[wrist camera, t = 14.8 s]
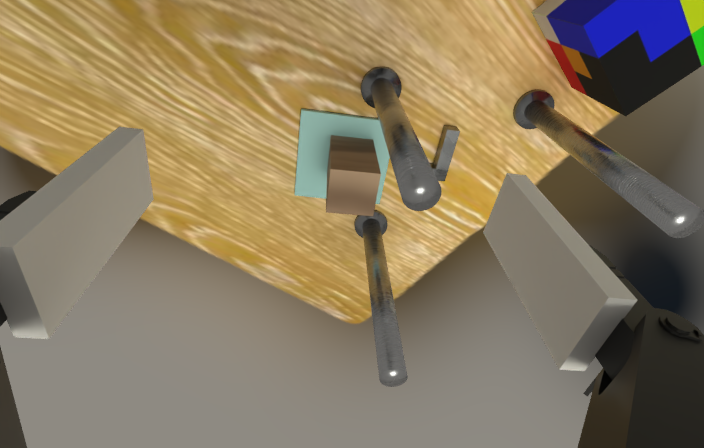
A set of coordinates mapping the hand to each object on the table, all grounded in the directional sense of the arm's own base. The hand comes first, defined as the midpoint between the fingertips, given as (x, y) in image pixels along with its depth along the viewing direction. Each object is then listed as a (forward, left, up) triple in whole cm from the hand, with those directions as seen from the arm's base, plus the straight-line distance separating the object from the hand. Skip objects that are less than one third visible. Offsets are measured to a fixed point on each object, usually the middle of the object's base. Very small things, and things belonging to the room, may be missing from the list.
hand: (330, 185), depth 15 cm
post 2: (+8, -22, -32) cm, 39 cm away
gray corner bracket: (+13, -11, -32) cm, 36 cm away
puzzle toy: (+27, +6, -32) cm, 42 cm away
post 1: (+6, -4, -32) cm, 33 cm away
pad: (+3, -13, -32) cm, 34 cm away
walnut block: (+4, -12, -31) cm, 34 cm away
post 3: (+24, -4, -32) cm, 40 cm away
